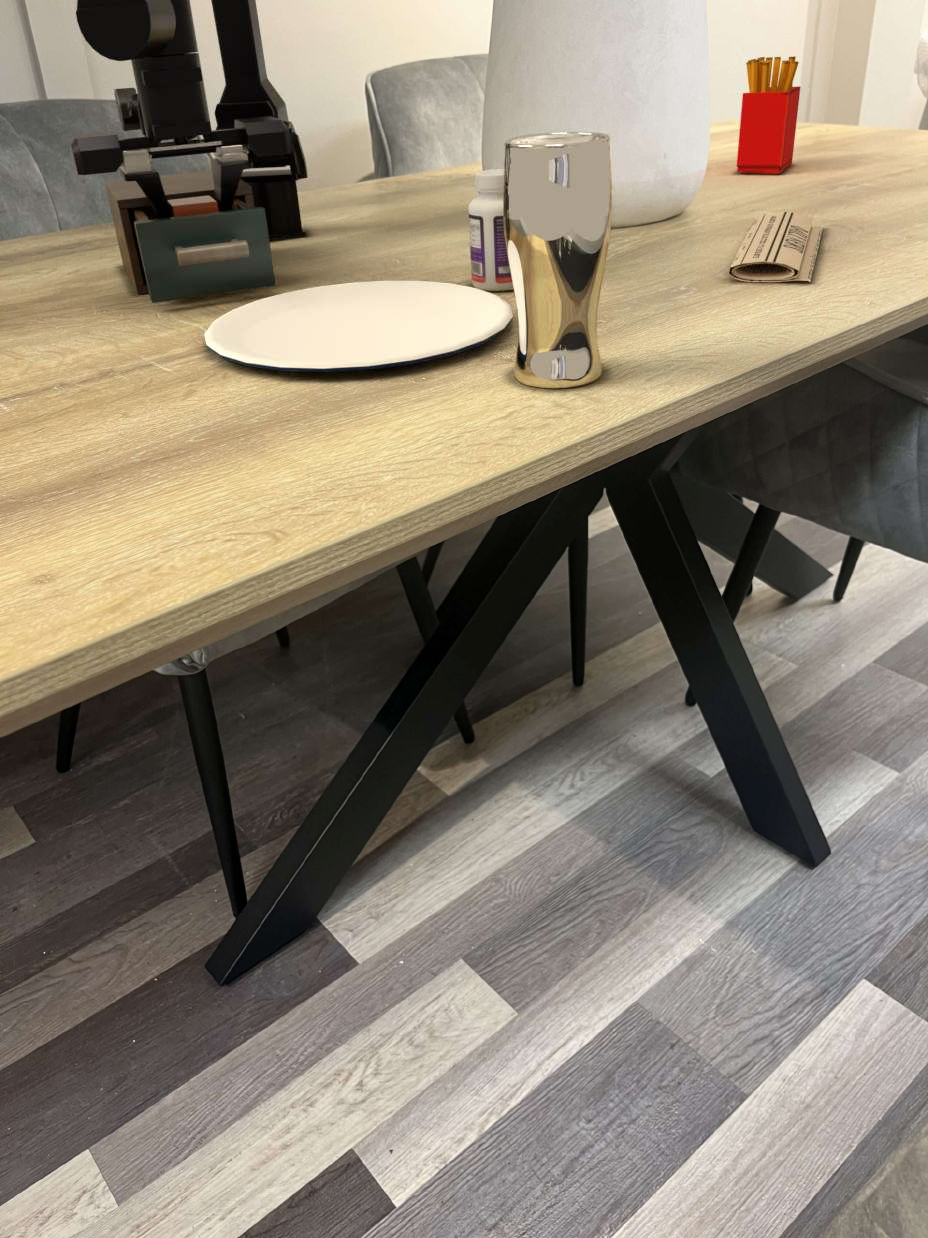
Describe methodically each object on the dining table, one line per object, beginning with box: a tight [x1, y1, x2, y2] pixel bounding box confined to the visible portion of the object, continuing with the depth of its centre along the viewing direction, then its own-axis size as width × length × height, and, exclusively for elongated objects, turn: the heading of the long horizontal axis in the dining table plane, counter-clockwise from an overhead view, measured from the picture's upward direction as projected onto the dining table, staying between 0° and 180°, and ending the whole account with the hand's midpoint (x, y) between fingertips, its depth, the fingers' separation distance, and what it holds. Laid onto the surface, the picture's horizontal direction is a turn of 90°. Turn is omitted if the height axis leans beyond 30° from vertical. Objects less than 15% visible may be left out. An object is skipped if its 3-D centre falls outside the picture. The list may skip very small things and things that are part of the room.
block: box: [167, 196, 219, 217], centre depth 92 cm, size 4×4×5 cm
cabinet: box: [104, 169, 254, 296], centre depth 102 cm, size 15×13×9 cm
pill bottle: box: [467, 168, 514, 292], centre depth 90 cm, size 5×5×10 cm
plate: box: [203, 280, 514, 373], centre depth 81 cm, size 25×25×1 cm
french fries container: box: [736, 56, 802, 174], centre depth 138 cm, size 7×9×14 cm
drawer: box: [130, 197, 277, 304], centre depth 93 cm, size 18×11×7 cm, turn 22°
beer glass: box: [503, 131, 613, 389], centre depth 65 cm, size 7×7×15 cm
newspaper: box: [727, 211, 824, 283], centre depth 97 cm, size 24×7×2 cm, turn 161°
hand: (200, 245), depth 93 cm, fingers closed on block, 4 cm apart
